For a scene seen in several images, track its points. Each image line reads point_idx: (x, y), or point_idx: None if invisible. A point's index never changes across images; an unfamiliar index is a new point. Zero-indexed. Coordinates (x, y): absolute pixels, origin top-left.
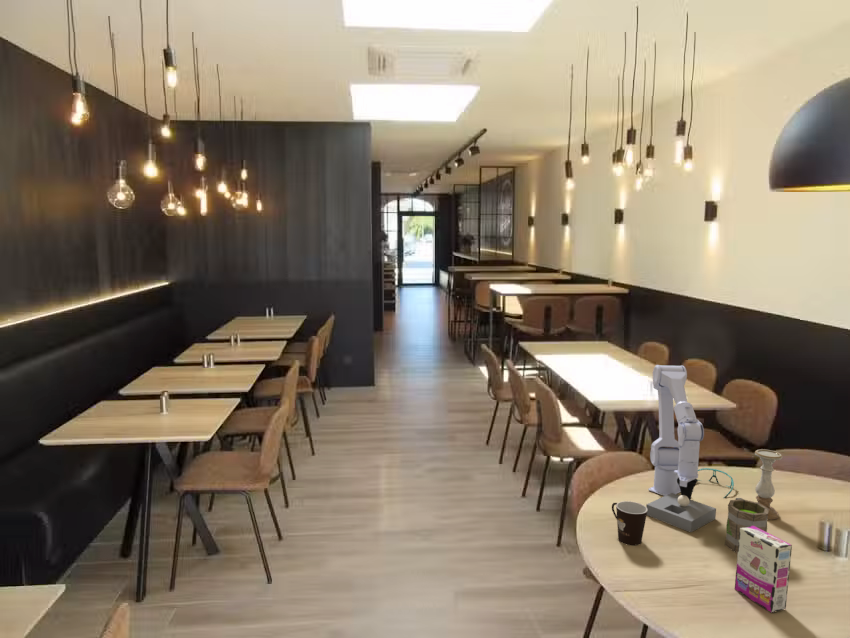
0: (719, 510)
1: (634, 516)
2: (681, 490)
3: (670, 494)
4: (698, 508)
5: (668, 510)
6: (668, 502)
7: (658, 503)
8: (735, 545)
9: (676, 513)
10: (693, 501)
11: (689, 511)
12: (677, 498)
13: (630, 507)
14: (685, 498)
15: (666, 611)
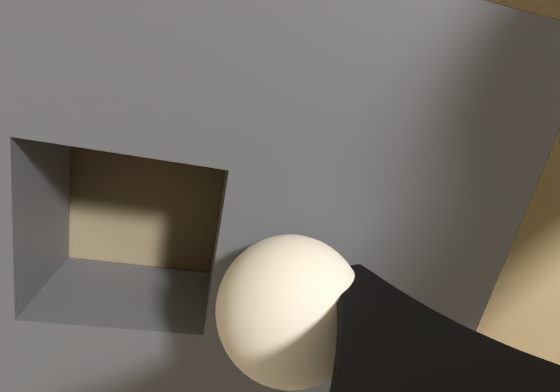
0: (544, 358)
1: None
2: (334, 375)
3: (536, 37)
4: (321, 386)
5: (11, 205)
6: (258, 113)
7: (118, 15)
8: None
9: (11, 300)
10: (465, 300)
11: (183, 363)
12: (453, 153)
13: None
14: (257, 379)
15: None
